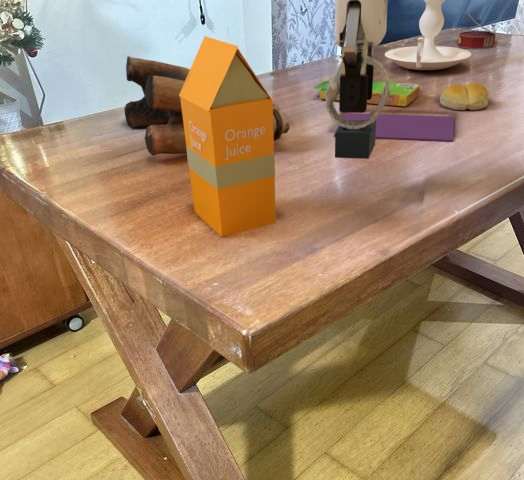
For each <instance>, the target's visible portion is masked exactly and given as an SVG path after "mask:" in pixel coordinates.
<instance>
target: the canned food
mask: <svg viewBox="0 0 524 480" xmlns="http://www.w3.org/2000/svg"><path fill="white" fill-rule="evenodd" d="M466 14H467V15H468V17H469V19H471V20H472V21H473V22H474V23H475V24H476V25H477V26H479V27H480V28H481V29H483V30H469V31H468V30H467V31H463V32H460V33H459V36H458V40H457V42H458V43H457V48H460V49H468V50H485V49H490V48H494V46H495V42H496V36H497V33H496V32H494V31H492V30H490V29H488V28H486V27H485V26H483V25H481V24H480V23H478V22H477V21H476V20H475V19H474V18H473V17H472V15H471V13H470V12H469V11H466Z"/></svg>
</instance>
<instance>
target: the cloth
mask: <svg viewBox="0 0 524 480" xmlns="http://www.w3.org/2000/svg"><path fill="white" fill-rule="evenodd" d="M370 114H371V113H344V116H342V117H343V118H344V119H346V120H367V119H369V118H370ZM375 121H376V136H375V139H376V140H377V139H379V140H401V141H404V140H406V141H425V142H427V141H428V142H429V141H430V142H454V121H455V120H454V116H452V115H451V116H449V115H419V114H384V113H380V114H379V116H378V117H377V119H376V120H375ZM339 126H340V125H339V124H338V127H337V128H336V130H335V132H336V131H337V129H338V128H339ZM333 137H334V138H335V133H333Z"/></svg>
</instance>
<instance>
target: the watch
mask: <svg viewBox="0 0 524 480" xmlns="http://www.w3.org/2000/svg"><path fill="white" fill-rule="evenodd" d="M367 63H368V64H370V65H373V66H374V69H376V70H378V72H379V73H380V75H381V76H382V79H383V80H384V81H383V82H385V86H384V89H383V94H382V97H381V100H380V102H379V104H377V106H376V107H375V109H374V111H372V112H370V113H369V114H370V118H369V119H367V120H346V119H344V118H343V117H344V116H342V115H341V114H340V113H339V112H338V111H337V108H336V107H335V104H334V102H335V101H336V100H335V99H336V98H337V97H338V95H339V93H340V76H341V63H340V64H339V65H338V67H337V69H336V71H335V72H334V73H333V75H332V77H331V78H330V79H331V81H330V83H329V85H328V87H327V89H326V91H325V94H324V98H327V99H325V108H326V111H327V113H328V115H329V117H330V118H331V119H332V120H333V121H334V123H336V124H337V125H338V126H339V125H340V126H339V128H338V127H337V128H338V129H337V128H336V130H337V131H336V130H335V132H334V134H335V137H334V158H335V159H358V160H359V159H361V160H362V159H363V160H364V159H365V160H369V158H370V157H371V155H372V153H373V150H374V148H375V146H376V138H375V136H376V121H375V120H376V119H377V117H378V116H379V114H382V111H383V109H384V107H385V106H386V105H385V103H386V101H387V99H388V97H389V94H390V91H391V90H390V82H391V78H390V77H391V76H390V74H389V72H388V70H387V68H386V67H385V65H384V64H383V63H382V62H381V61H380V60H379V59H376V57H374V56H373V57H371V56H367Z"/></svg>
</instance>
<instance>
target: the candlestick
mask: <svg viewBox="0 0 524 480" xmlns="http://www.w3.org/2000/svg"><path fill="white" fill-rule="evenodd" d="M445 1H446V0H422V2H424V3H425V10H424V11H423V13H422V15H421V16H420V19H419V22H418V26H419V31H420V34H421V35H422V36H420V37H417V45H415V46H413V45H412V46H405V47H397V48H392V49H389V50H387V51H386V52H385V53H384V57H386V58H387V59H389V60H391V61H392V62H393V63H394V64H395V65H397V66H399V67H402V68H403V69H407V70H415V71H438V70H444V69H449V68H452V67H454V66H456V65H458V64H460V63H462V61H464V60H466V59H469V58H470V57H471V56H472V53H471V51H469V50H467V49H465V48H460V47H453V46H443V45H435V37H437V36H438V35H439V34H440V33H441V31H442V29H443V27H444V24H445V16H444V14H443V11H442V5H443V3H444V2H445Z"/></svg>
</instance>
